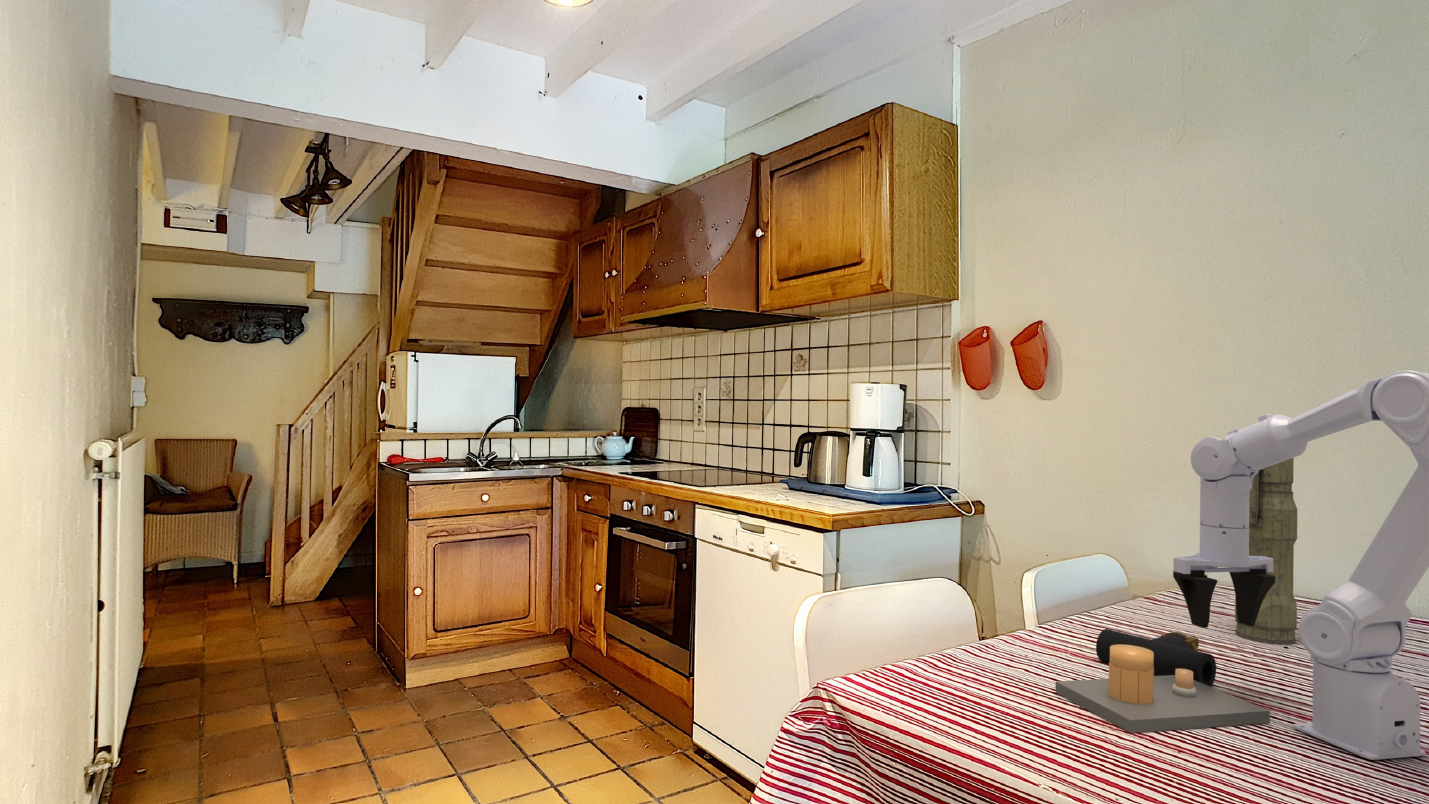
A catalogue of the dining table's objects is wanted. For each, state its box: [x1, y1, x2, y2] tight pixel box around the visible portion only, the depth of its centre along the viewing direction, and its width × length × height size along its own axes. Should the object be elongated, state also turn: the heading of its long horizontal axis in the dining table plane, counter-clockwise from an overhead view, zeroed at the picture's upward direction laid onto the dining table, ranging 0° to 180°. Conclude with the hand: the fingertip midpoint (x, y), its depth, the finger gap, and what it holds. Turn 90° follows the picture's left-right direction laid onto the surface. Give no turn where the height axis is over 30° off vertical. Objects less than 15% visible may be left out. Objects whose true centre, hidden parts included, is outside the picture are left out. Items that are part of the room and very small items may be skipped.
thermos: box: [1234, 457, 1298, 646], centre depth 140 cm, size 9×12×35 cm
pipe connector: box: [1095, 628, 1217, 687], centre depth 120 cm, size 12×5×15 cm
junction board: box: [1055, 668, 1271, 734], centre depth 103 cm, size 14×20×4 cm
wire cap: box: [1108, 644, 1154, 704], centre depth 103 cm, size 5×5×6 cm
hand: (1223, 625), depth 109 cm, fingers open, 7 cm apart
